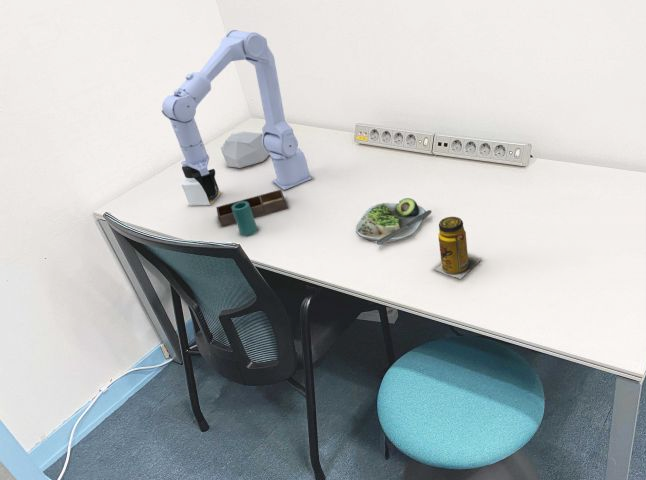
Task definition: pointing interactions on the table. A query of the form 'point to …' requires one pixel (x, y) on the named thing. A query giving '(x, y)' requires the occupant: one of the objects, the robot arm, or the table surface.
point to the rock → (244, 149)
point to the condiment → (454, 248)
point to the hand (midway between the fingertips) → (208, 190)
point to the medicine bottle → (196, 190)
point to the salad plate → (391, 221)
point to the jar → (244, 218)
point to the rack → (254, 206)
